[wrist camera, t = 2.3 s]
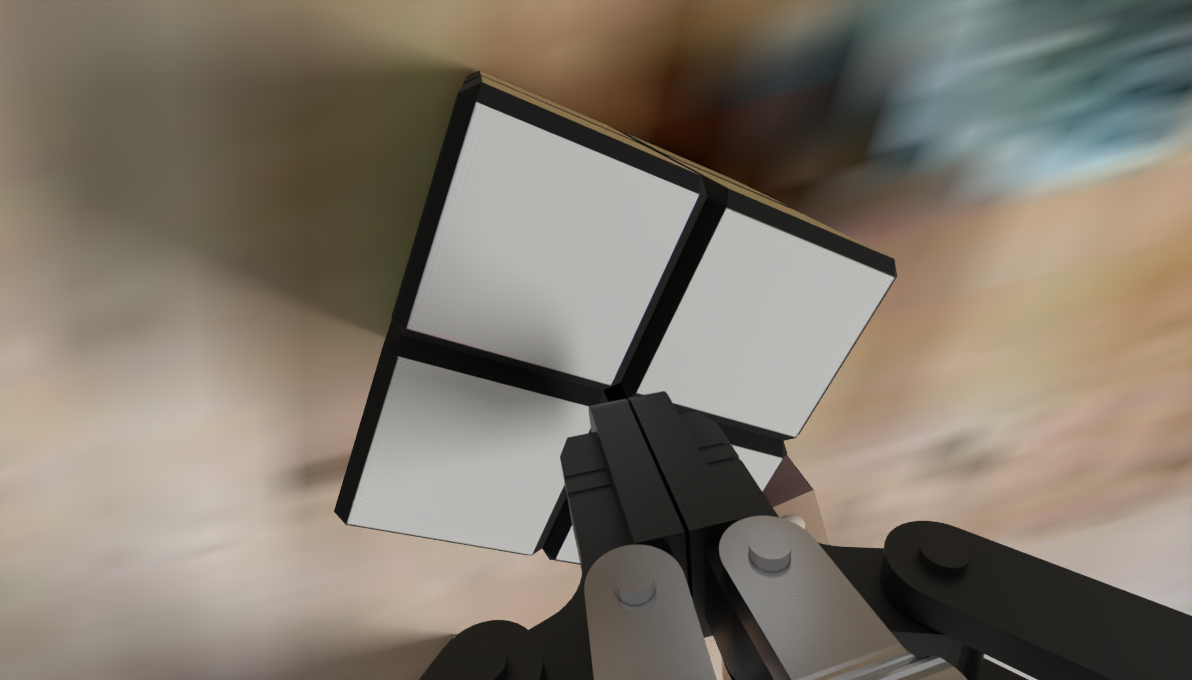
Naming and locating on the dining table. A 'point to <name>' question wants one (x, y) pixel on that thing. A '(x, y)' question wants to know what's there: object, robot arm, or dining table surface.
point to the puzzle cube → (587, 320)
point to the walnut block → (795, 500)
